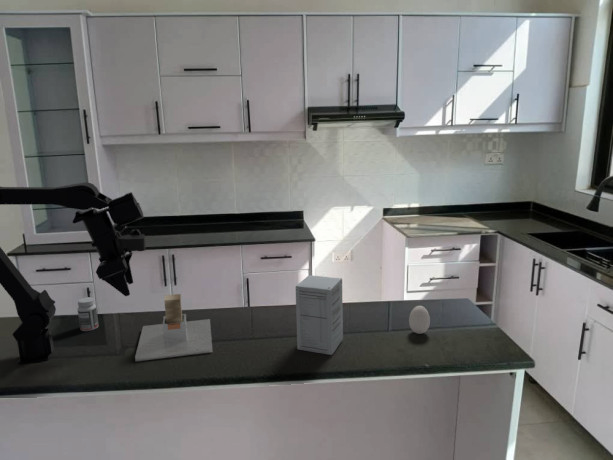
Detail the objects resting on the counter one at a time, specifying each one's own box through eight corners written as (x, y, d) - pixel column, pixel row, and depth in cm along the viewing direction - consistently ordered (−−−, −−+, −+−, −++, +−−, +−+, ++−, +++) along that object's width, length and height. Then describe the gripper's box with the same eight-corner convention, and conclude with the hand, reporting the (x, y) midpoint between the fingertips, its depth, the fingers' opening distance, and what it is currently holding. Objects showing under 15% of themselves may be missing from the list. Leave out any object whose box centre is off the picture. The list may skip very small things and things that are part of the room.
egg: (431, 337, 120) (432, 310, 119) (410, 337, 121) (411, 310, 119) (427, 328, 125) (428, 302, 124) (407, 328, 126) (408, 302, 124)
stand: (135, 361, 110) (133, 338, 109) (143, 330, 127) (141, 309, 126) (212, 352, 114) (211, 329, 113) (210, 323, 131) (208, 303, 130)
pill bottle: (93, 323, 132) (90, 295, 131) (101, 327, 129) (98, 299, 128) (76, 328, 129) (73, 300, 127) (85, 333, 126) (81, 304, 124)
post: (167, 339, 118) (163, 300, 116) (168, 332, 122) (164, 295, 119) (183, 337, 119) (180, 299, 117) (183, 331, 123) (180, 293, 120)
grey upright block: (343, 339, 120) (344, 277, 116) (332, 356, 111) (332, 289, 108) (309, 334, 123) (308, 274, 120) (295, 349, 115) (294, 285, 111)
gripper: (131, 228, 104) (159, 288, 109) (138, 214, 122) (161, 266, 126) (82, 247, 102) (112, 307, 107) (96, 229, 120) (121, 282, 124)
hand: (129, 289), depth 116 cm, fingers open, 9 cm apart
